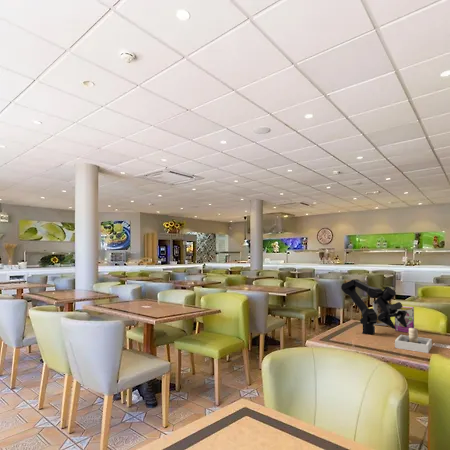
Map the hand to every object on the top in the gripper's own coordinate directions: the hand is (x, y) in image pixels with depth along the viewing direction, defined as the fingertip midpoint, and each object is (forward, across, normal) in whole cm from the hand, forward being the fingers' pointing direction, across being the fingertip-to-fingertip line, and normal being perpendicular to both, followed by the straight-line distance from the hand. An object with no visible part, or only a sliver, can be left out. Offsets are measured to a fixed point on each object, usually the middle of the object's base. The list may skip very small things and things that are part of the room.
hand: (400, 327), depth 203 cm
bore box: (+12, 0, 0) cm, 12 cm away
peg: (+12, 0, +1) cm, 12 cm away
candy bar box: (-7, +26, +20) cm, 33 cm away
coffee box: (-22, +28, +35) cm, 50 cm away
